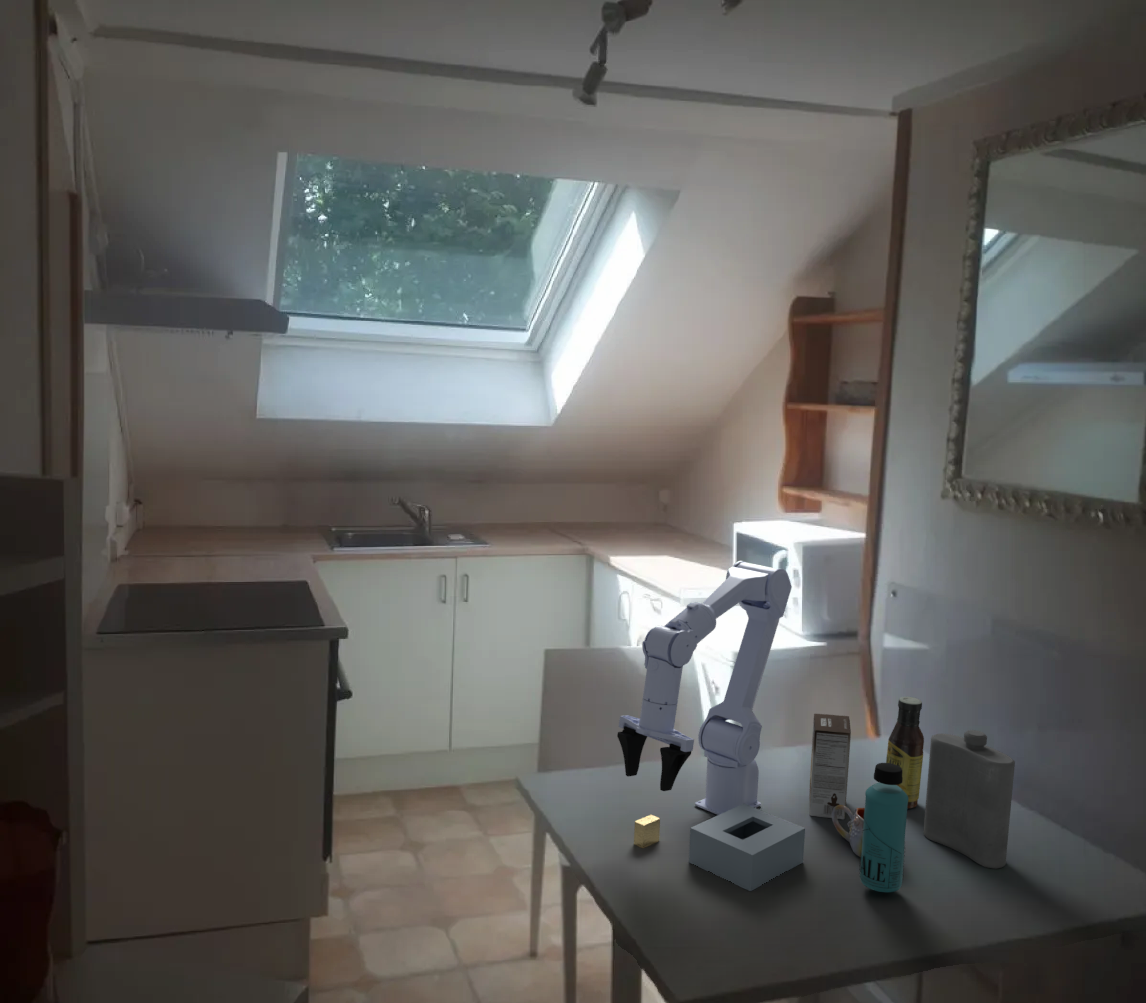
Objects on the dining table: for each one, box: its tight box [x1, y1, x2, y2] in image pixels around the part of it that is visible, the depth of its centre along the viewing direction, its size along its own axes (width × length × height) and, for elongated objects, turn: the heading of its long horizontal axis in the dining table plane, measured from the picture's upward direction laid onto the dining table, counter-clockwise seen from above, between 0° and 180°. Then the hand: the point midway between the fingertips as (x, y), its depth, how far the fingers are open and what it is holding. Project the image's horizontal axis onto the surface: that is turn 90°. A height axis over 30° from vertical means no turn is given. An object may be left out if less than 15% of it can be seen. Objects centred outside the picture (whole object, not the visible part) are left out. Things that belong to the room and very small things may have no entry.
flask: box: [923, 729, 1016, 870], centre depth 171 cm, size 15×6×20 cm, turn 31°
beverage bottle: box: [858, 762, 908, 893], centre depth 156 cm, size 6×7×20 cm
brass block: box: [633, 814, 661, 849], centre depth 171 cm, size 4×2×4 cm, turn 134°
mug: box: [831, 805, 865, 858], centre depth 172 cm, size 12×7×7 cm, turn 31°
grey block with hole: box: [688, 804, 806, 892], centre depth 165 cm, size 14×12×6 cm
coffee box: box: [808, 713, 852, 820], centre depth 186 cm, size 9×6×16 cm
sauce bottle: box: [885, 696, 925, 810], centre depth 188 cm, size 7×6×20 cm
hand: (648, 782), depth 170 cm, fingers open, 7 cm apart
